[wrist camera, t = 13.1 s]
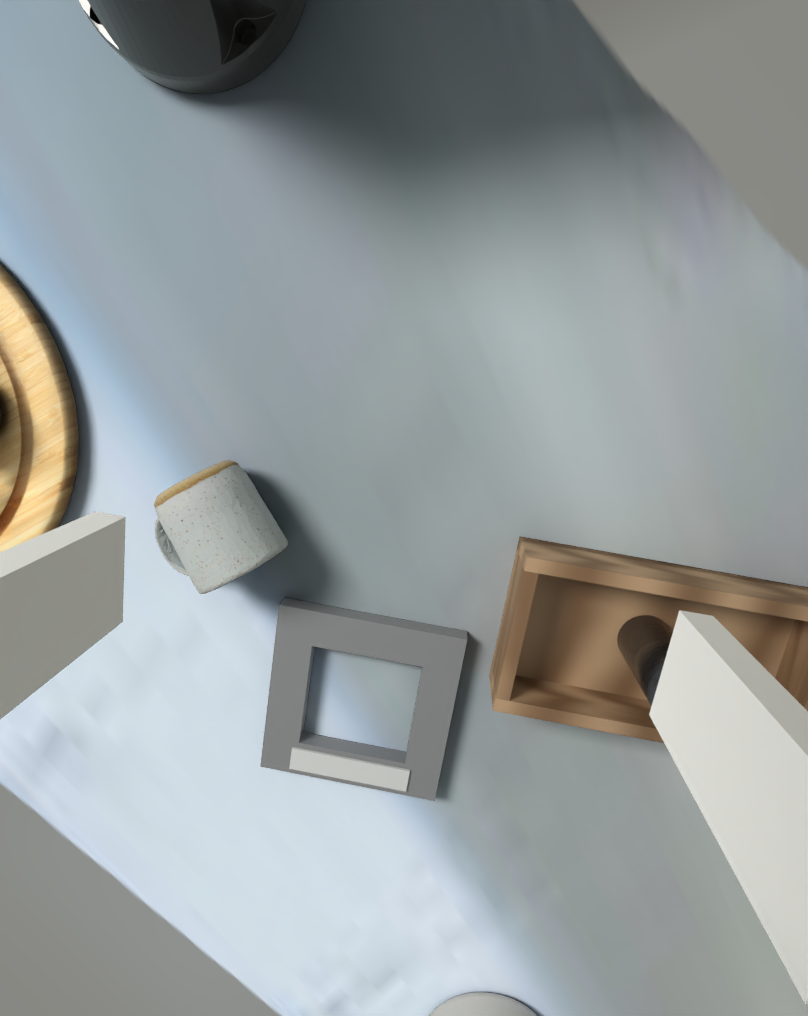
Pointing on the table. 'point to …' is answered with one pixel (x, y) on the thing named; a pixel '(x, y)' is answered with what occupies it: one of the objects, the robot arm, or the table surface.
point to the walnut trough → (598, 618)
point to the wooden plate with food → (32, 422)
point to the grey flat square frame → (372, 638)
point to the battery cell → (645, 650)
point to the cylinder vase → (482, 1006)
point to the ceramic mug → (216, 526)
